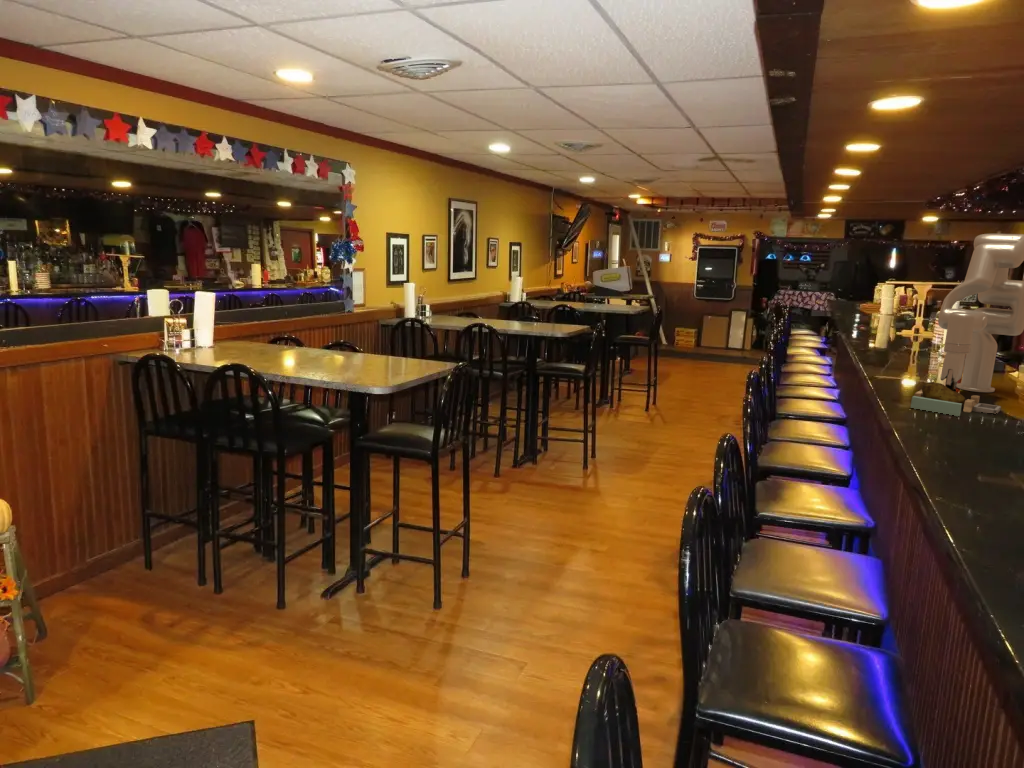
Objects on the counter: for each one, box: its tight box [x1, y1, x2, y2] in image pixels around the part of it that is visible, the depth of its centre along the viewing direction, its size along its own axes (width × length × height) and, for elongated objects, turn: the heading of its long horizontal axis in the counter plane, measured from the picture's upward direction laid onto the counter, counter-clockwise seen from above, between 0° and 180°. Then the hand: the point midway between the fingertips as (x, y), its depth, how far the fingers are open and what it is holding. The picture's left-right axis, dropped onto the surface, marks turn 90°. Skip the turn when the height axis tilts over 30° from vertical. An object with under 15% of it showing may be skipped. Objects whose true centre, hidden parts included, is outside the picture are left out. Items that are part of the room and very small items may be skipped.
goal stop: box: [910, 395, 963, 417], centre depth 228 cm, size 2×14×4 cm, turn 48°
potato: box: [921, 381, 966, 407], centre depth 237 cm, size 8×13×8 cm, turn 49°
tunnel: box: [913, 389, 981, 413], centre depth 240 cm, size 14×17×4 cm
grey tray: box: [972, 402, 1002, 415], centre depth 233 cm, size 9×6×2 cm
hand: (948, 399), depth 242 cm, fingers closed
